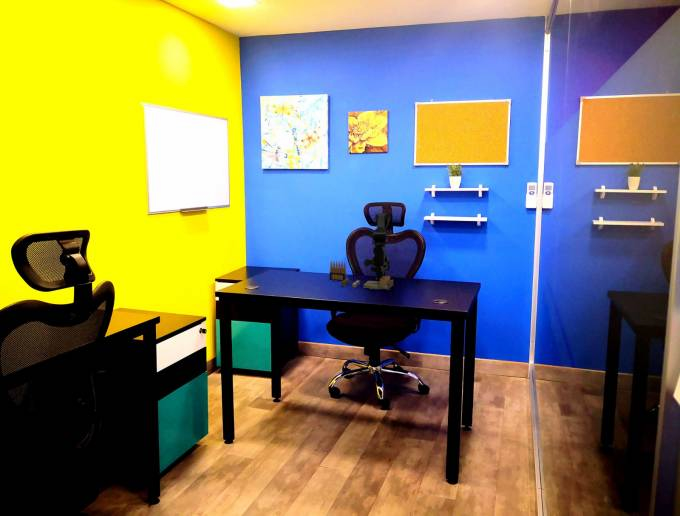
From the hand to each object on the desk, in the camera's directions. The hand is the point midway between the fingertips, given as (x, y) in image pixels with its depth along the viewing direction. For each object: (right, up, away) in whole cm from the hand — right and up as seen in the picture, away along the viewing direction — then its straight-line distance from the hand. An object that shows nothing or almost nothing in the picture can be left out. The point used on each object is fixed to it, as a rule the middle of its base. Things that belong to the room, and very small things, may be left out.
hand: (379, 281), depth 306 cm
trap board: (-6, -3, +2) cm, 7 cm away
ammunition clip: (-23, -1, +18) cm, 29 cm away
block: (+3, -1, -1) cm, 4 cm away
